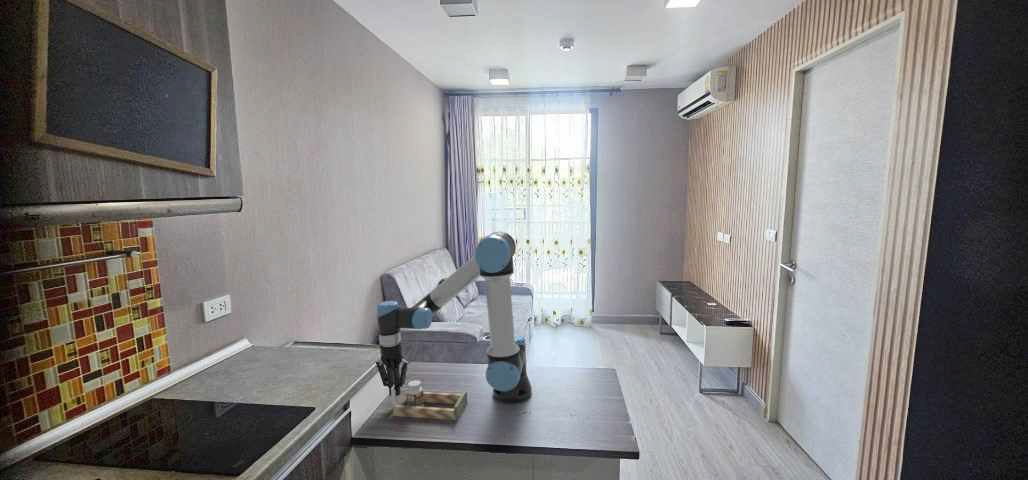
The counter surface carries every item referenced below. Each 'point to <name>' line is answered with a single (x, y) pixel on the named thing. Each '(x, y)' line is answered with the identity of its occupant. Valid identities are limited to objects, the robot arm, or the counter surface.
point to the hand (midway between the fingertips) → (395, 403)
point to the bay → (432, 412)
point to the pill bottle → (415, 394)
